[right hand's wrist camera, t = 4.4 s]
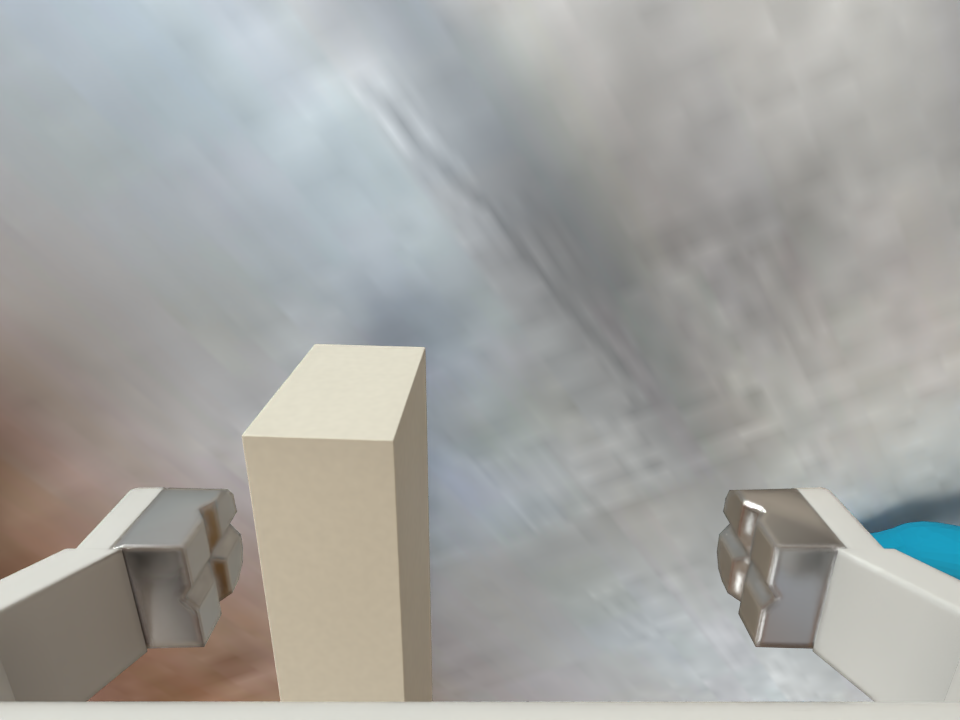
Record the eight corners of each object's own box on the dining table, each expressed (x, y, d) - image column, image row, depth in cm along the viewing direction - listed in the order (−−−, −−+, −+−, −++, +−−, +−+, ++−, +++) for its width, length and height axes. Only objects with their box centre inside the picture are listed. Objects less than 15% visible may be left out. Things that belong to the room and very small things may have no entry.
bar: (314, 343, 28) (241, 435, 20) (425, 346, 28) (393, 440, 20) (353, 768, 39) (314, 935, 31) (433, 772, 39) (415, 941, 31)
